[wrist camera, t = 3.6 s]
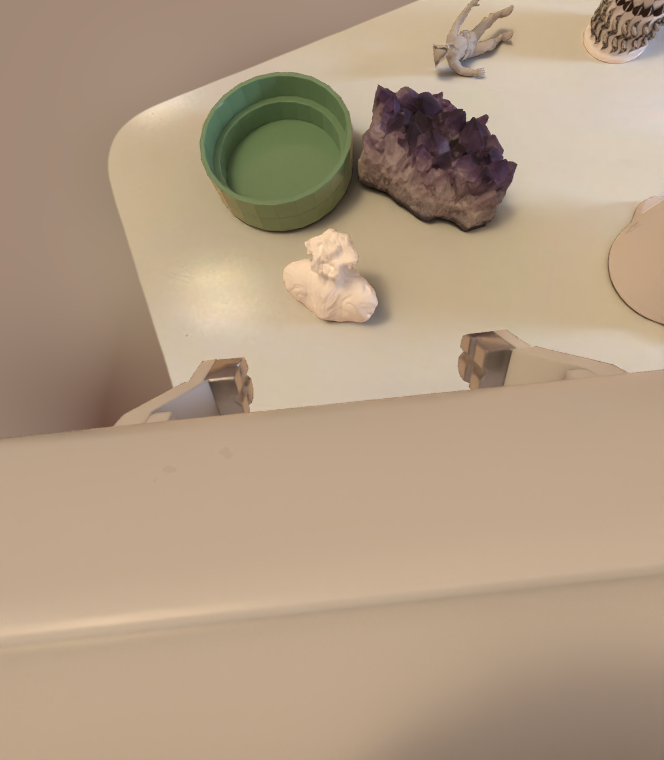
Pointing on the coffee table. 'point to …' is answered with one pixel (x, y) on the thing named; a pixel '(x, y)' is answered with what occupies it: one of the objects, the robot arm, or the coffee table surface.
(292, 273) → the bust
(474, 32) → the grey figurine
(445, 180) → the geode
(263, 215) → the bowl
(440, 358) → the coffee table surface
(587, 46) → the decorative candle
